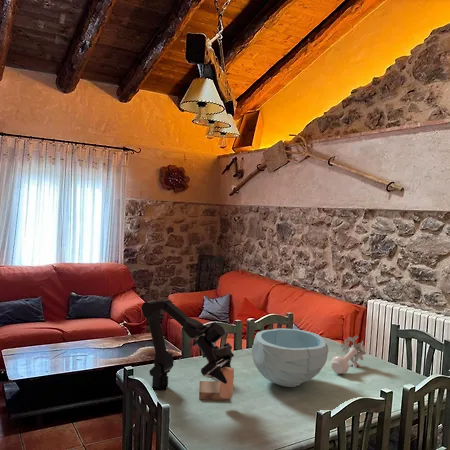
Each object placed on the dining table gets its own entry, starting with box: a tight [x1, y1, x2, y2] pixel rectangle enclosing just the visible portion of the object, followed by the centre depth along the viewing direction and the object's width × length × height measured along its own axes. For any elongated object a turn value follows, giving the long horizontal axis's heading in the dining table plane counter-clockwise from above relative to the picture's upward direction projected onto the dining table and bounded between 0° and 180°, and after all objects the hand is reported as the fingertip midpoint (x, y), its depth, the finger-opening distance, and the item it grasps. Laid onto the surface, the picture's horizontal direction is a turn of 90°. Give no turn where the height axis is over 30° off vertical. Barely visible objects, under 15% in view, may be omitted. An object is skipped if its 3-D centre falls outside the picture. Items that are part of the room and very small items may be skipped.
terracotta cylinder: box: [219, 367, 235, 400], centre depth 178 cm, size 6×6×11 cm
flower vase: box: [330, 334, 367, 375], centre depth 229 cm, size 13×18×25 cm
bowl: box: [251, 327, 329, 388], centre depth 206 cm, size 35×35×22 cm
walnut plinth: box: [198, 380, 228, 401], centre depth 191 cm, size 12×12×3 cm
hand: (229, 380), depth 177 cm, fingers closed on terracotta cylinder, 5 cm apart
